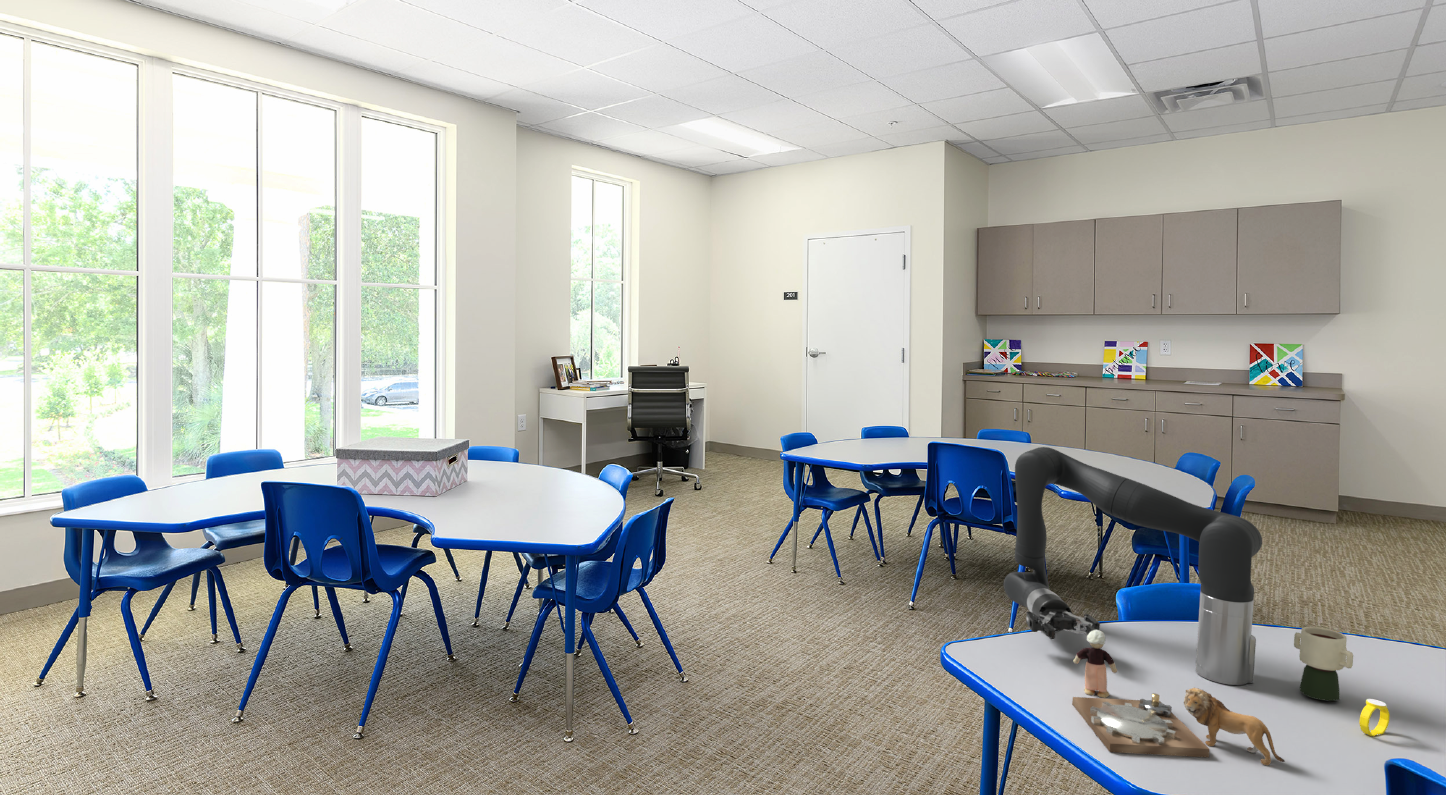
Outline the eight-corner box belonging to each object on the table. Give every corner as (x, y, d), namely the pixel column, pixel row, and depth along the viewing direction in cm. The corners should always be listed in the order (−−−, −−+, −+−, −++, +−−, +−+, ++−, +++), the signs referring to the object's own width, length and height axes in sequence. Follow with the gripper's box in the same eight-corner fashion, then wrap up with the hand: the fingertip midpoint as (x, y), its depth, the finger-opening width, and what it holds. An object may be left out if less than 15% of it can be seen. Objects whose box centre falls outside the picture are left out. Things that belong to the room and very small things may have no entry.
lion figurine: (1179, 740, 133) (1182, 690, 133) (1184, 729, 137) (1187, 680, 137) (1283, 771, 124) (1287, 718, 123) (1285, 758, 128) (1289, 706, 127)
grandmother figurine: (1113, 692, 152) (1116, 629, 151) (1116, 700, 148) (1119, 636, 147) (1071, 685, 154) (1074, 624, 153) (1073, 694, 150) (1076, 631, 149)
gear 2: (1163, 704, 143) (1164, 689, 143) (1177, 718, 138) (1178, 702, 138) (1133, 703, 144) (1133, 687, 143) (1145, 716, 139) (1146, 700, 138)
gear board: (1159, 708, 145) (1160, 701, 145) (1208, 757, 128) (1209, 749, 128) (1072, 704, 146) (1072, 696, 146) (1109, 752, 129) (1110, 743, 129)
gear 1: (1153, 709, 141) (1153, 704, 141) (1190, 746, 128) (1190, 740, 128) (1078, 705, 142) (1078, 700, 142) (1107, 742, 129) (1107, 736, 129)
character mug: (1362, 707, 146) (1367, 641, 145) (1335, 712, 144) (1340, 645, 143) (1304, 683, 157) (1308, 621, 156) (1278, 687, 155) (1282, 624, 154)
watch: (1374, 729, 139) (1378, 697, 138) (1392, 736, 136) (1396, 704, 136) (1353, 732, 137) (1357, 699, 136) (1370, 740, 134) (1374, 706, 134)
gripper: (1017, 592, 178) (1040, 617, 162) (1080, 594, 177) (1110, 620, 160) (1016, 623, 178) (1038, 651, 162) (1079, 626, 177) (1108, 654, 161)
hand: (1074, 636), depth 161 cm, fingers open, 8 cm apart
